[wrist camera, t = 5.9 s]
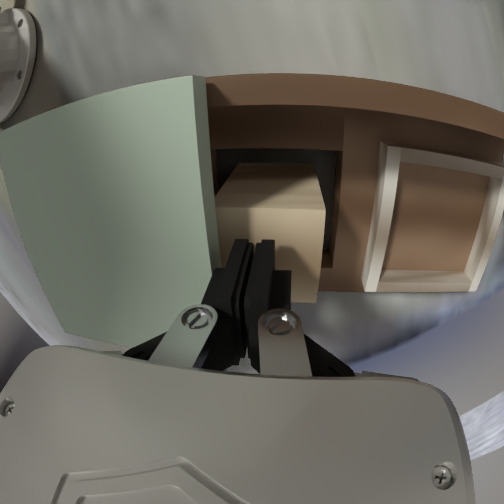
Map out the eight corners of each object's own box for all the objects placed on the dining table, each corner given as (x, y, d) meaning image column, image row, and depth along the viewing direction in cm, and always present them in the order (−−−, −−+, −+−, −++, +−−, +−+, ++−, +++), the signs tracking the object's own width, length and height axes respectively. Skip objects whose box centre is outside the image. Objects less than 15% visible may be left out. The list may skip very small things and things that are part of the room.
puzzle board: (55, 117, 18) (-19, 144, 11) (488, 114, 14) (563, 140, 7) (89, 259, 26) (40, 314, 19) (453, 274, 21) (493, 341, 14)
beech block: (238, 163, 19) (207, 207, 13) (313, 163, 19) (325, 210, 12) (242, 228, 22) (218, 298, 15) (310, 230, 21) (316, 303, 14)
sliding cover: (15, 126, 10) (-5, 134, 9) (205, 76, 9) (192, 75, 8) (75, 317, 17) (65, 332, 16) (230, 340, 16) (225, 361, 14)
